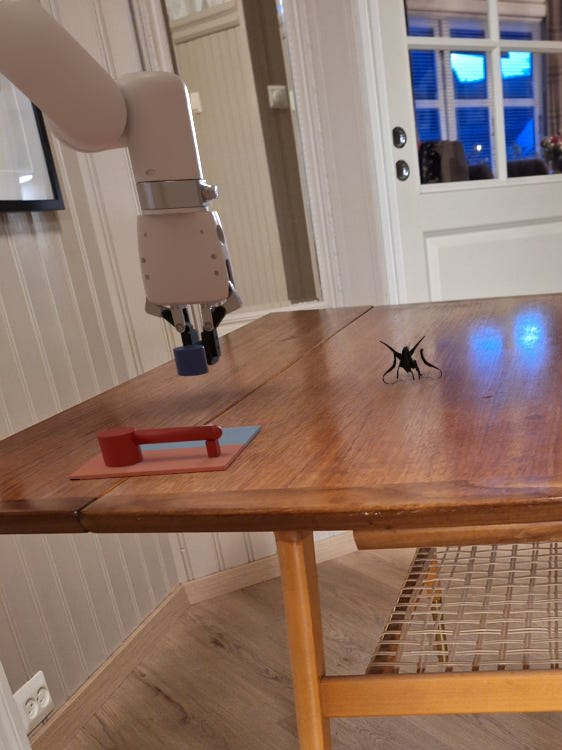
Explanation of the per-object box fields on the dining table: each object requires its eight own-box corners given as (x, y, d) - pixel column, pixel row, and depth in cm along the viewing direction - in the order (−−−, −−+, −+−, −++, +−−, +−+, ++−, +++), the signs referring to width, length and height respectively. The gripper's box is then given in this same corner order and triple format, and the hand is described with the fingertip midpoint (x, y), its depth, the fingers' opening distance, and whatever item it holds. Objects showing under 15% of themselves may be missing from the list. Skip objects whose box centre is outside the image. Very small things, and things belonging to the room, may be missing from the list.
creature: (447, 389, 111) (432, 364, 117) (446, 348, 108) (431, 325, 113) (387, 396, 110) (375, 371, 115) (384, 355, 106) (372, 331, 112)
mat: (69, 480, 82) (68, 476, 82) (126, 438, 95) (125, 434, 95) (225, 469, 81) (224, 465, 81) (261, 428, 95) (260, 425, 94)
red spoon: (99, 468, 83) (90, 437, 82) (113, 457, 87) (105, 428, 85) (222, 460, 83) (215, 429, 82) (231, 449, 86) (225, 419, 85)
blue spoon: (204, 375, 103) (198, 349, 101) (174, 377, 103) (168, 350, 101) (230, 357, 113) (225, 333, 112) (202, 359, 113) (198, 335, 112)
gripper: (247, 195, 103) (272, 355, 112) (118, 203, 104) (153, 361, 112) (231, 196, 97) (259, 366, 105) (93, 204, 97) (132, 372, 106)
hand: (204, 362), depth 109 cm, fingers closed on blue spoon, 1 cm apart
